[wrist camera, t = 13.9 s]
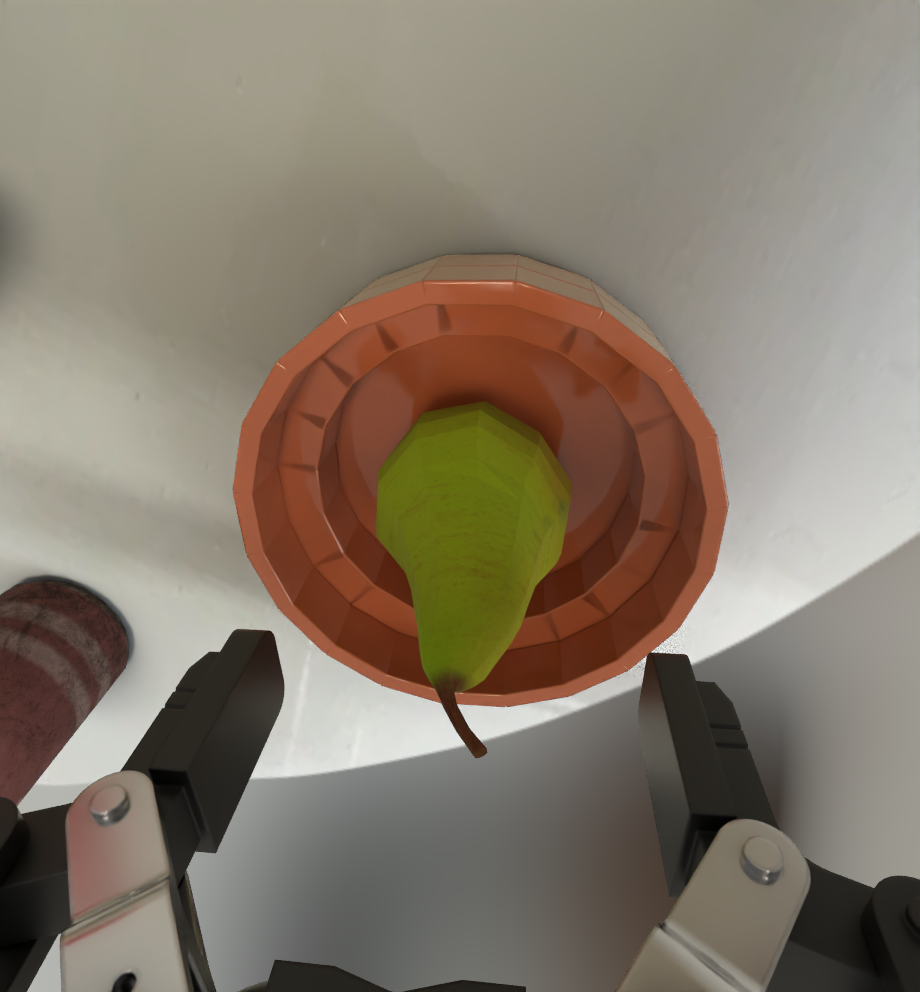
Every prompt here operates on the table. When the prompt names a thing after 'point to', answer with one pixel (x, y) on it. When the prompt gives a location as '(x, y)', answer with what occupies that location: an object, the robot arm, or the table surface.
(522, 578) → the fruit
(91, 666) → the can
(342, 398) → the bowl
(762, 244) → the table surface
